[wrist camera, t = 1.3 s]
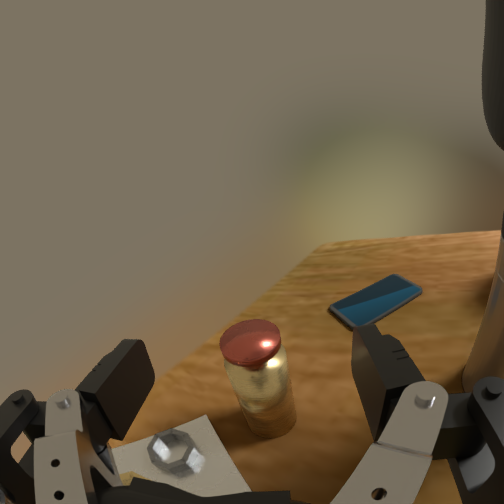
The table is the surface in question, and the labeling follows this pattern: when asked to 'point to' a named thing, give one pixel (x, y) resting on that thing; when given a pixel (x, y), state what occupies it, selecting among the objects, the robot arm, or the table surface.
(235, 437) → the table surface
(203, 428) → the fitting plate
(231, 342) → the brass valve
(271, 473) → the table surface
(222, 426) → the table surface
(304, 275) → the table surface
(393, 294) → the smartphone
